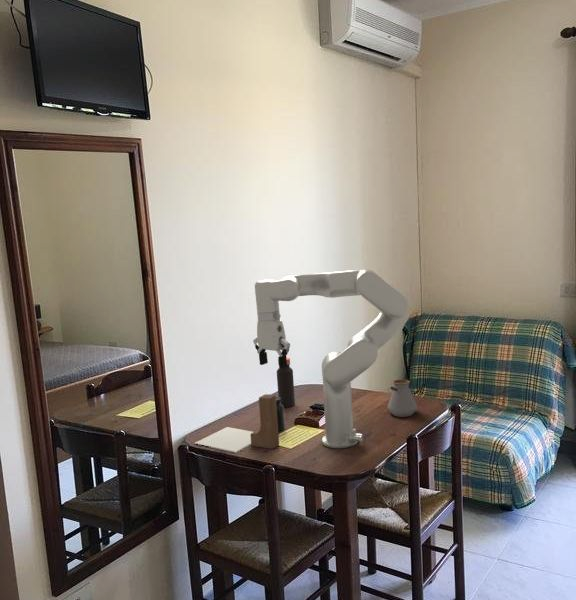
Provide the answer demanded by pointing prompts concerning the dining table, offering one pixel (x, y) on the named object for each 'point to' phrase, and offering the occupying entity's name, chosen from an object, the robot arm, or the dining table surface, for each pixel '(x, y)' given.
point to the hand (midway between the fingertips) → (273, 365)
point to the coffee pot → (401, 399)
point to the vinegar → (286, 385)
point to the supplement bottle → (280, 414)
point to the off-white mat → (228, 440)
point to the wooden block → (267, 424)
